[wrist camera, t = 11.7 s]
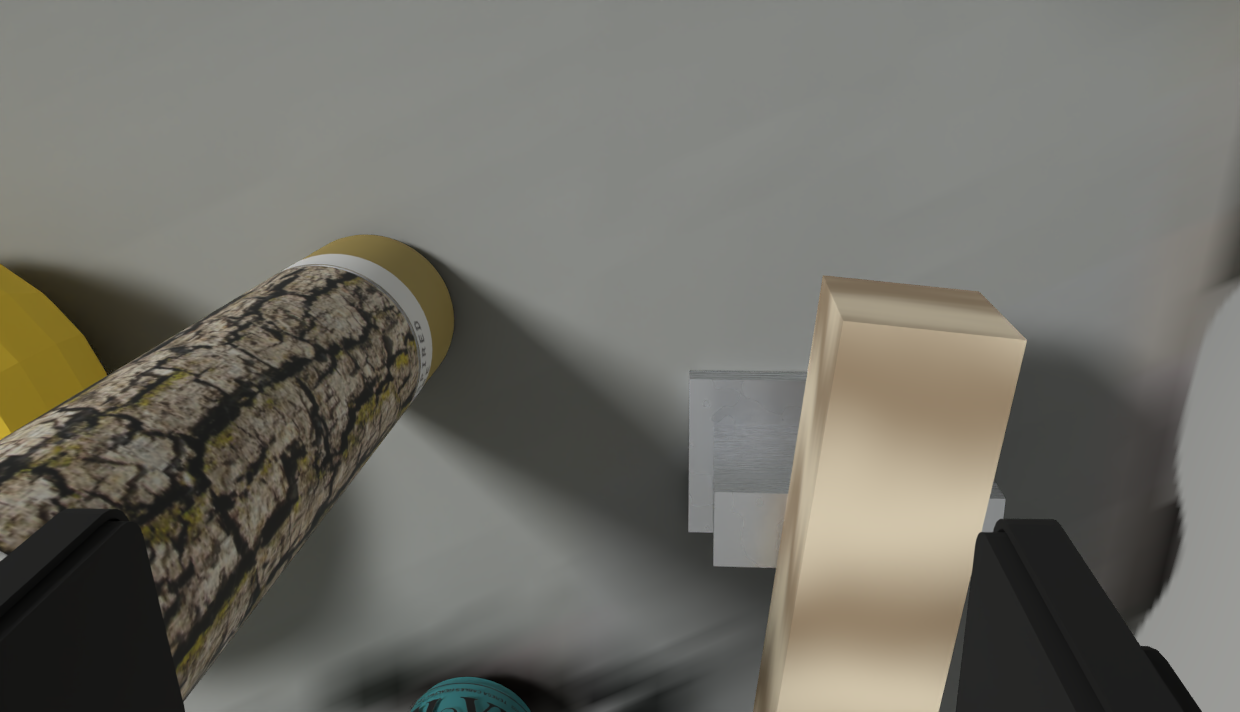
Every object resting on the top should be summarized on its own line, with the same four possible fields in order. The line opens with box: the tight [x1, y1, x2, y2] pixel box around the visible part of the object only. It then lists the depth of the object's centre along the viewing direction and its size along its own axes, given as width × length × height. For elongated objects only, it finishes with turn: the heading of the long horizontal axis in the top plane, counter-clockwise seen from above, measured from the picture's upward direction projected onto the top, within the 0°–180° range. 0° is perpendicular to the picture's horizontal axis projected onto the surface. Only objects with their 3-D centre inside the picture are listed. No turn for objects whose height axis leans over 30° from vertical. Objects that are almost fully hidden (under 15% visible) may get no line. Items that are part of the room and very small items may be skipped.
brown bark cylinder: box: [0, 235, 454, 702], centre depth 29 cm, size 7×7×25 cm
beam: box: [753, 276, 1027, 712], centre depth 32 cm, size 18×5×5 cm, turn 175°
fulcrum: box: [688, 371, 1006, 568], centre depth 38 cm, size 7×12×7 cm, turn 91°
